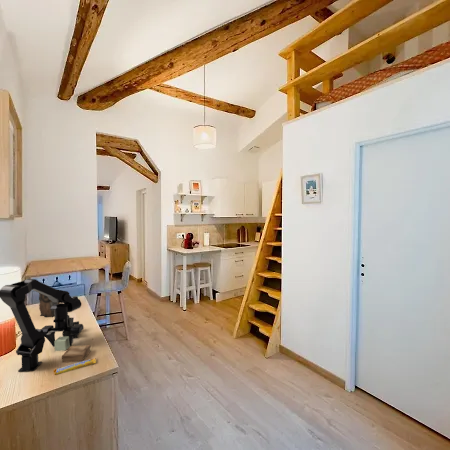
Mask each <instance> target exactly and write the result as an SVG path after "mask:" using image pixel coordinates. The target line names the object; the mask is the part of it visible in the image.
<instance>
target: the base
mask: <svg viewBox="0 0 450 450" xmlns="http://www.w3.org/2000/svg"><path fill="white" fill-rule="evenodd" d="M90 352H91V344H85V345H71V346H69V347H68V348H67V350H66V351H64V353H63V354H62V355H61V363H72V362H75V363H77V362H82V361H85V359H86V357H87V356H88V355H89V353H90Z"/></svg>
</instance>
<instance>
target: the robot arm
mask: <svg viewBox="0 0 450 450" xmlns="http://www.w3.org/2000/svg"><path fill="white" fill-rule="evenodd" d="M31 291H34V292H36V293H41V294H43V295H46V296H47V297H48V298H49V299H50V300H51V301H52V302H57V303H60V304H54V305H53V306H52V307H51V308H50V310H54V314H55V316H54V319H53V323H54V325H53V324H51V325H49V324H48V325H44V326H43V327H42V328H41V329H40V328H36V326H35V325H34V322H33V320H32V317H31V315H30V312H29V311H28V308H27V306H26V304H25V300H26V297H27V295H28V294H30V293H31ZM0 300H1V301H2V302H3V303H4V304H6V305H7V306H8V307H9V308H10V310H11V312H12V314H13V316H14V319H15V321H16V323H17V325H18V327H19V330H20V332H21V336H20V342H21V343H20V344H19V346H18V347H17V348H16V350H15V353H16V355H17V356H21V367H20V368H19V369H18V370H17V371H18V372H21V373H22V372H33V371H36V370H37V368H38V367H40V365H41V364H42V363H43V362H42V361H39V354H41V353H43V349H44V345H45V342H46V339H47V340H48V341H49V343H50V344H51V346H52V347H53V348H55V342H54V341H55V340H56V335H55V334H56V333H59V332H63V331H70V332H71V333H70V334H69V344H70V346H69V347H71V346H73V343H74V337H75V335H76V334H78V333H79V334H80V333H82V331H83V330H84V328H85V327H84V325H83V323H79V324H75V325H74V326H73V327H68V326H70V325H71V324H73V322H74V318H75V317H70V315H69V313H71V312H74V311H76V310H78V309H80V308H81V307H82V302H81V300H80V298H79V296H76V295H75V296H71V295H70V292H69V291H67V290H62V289H56V288H54V287H52V286H50V285H48V284H45V283H43V282H41V281H39V280H38V279H36V278H35V279H34V278H27V279H24V280H22V281H18V282H15V283H11V284H5V285H3V286H2V287H1V288H0Z"/></svg>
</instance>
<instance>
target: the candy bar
mask: <svg viewBox="0 0 450 450" xmlns="http://www.w3.org/2000/svg"><path fill="white" fill-rule="evenodd" d="M96 363H97V360H96V357H95V358H92V359H91V358H90V359H87V360H83V361H78V362H75V363H73V364H69V365H66V366H62V367H58V368H57V367H55V368H54V370H52V372H53V375H54V376H57V375H61V374H64V373H68V372H70V371H75V370H78V369H82V368H85V367H88V366H91V365H93V364H96Z"/></svg>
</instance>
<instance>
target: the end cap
mask: <svg viewBox="0 0 450 450" xmlns="http://www.w3.org/2000/svg"><path fill="white" fill-rule="evenodd" d="M75 324H80V321H79V320H78V321H73V324H71V325H70V326H68V327H73V326H74V325H75ZM70 333H71V332H70V331H62V335H61V336H62V337H64V336H69V334H70ZM79 335H80V333H78V334H76V335H75V337H74V339H78V338H79Z"/></svg>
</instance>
